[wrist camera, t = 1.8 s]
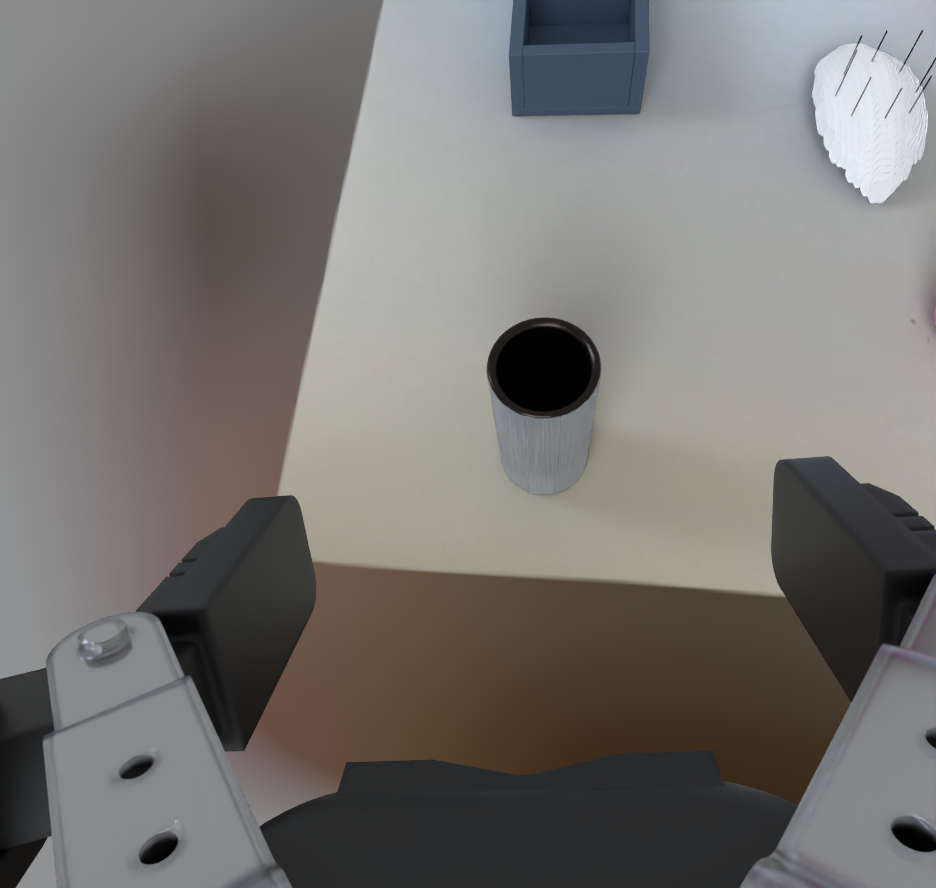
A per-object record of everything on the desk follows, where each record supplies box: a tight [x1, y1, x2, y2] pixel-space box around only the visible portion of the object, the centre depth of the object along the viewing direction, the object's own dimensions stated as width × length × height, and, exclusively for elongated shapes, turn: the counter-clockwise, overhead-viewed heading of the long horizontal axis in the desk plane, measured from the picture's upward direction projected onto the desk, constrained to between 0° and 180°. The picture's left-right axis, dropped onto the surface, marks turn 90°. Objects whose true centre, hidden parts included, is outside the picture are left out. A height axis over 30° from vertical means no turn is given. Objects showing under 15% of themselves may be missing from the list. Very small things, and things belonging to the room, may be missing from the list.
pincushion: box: [812, 30, 936, 204], centre depth 41 cm, size 12×6×6 cm, turn 177°
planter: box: [487, 318, 601, 495], centre depth 33 cm, size 4×4×10 cm
